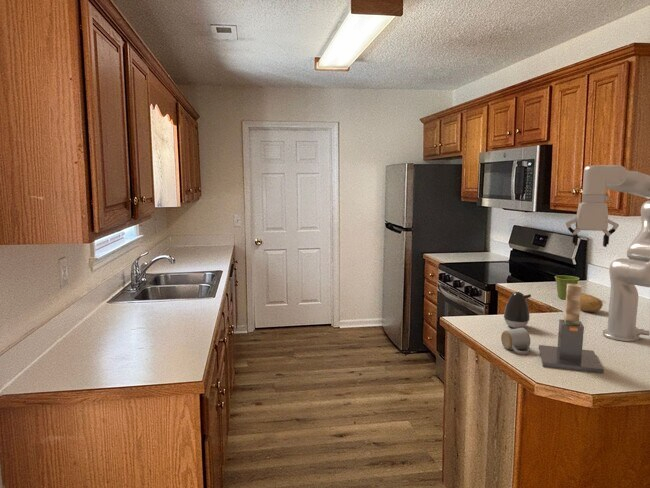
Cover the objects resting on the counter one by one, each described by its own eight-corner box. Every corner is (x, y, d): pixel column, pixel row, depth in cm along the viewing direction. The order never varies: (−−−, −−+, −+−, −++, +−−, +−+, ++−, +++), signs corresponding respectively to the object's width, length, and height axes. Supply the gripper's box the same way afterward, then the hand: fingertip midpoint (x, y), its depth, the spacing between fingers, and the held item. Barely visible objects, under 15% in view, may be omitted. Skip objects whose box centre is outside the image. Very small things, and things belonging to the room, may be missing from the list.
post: (576, 336, 168) (579, 284, 166) (577, 340, 165) (581, 286, 162) (563, 335, 170) (566, 283, 167) (564, 338, 166) (568, 285, 163)
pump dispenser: (531, 331, 200) (533, 295, 198) (505, 329, 202) (507, 294, 200) (526, 323, 210) (528, 289, 208) (501, 322, 212) (503, 288, 210)
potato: (591, 316, 222) (592, 299, 221) (568, 308, 235) (569, 292, 234) (608, 314, 224) (609, 297, 223) (585, 306, 238) (586, 291, 237)
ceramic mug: (499, 345, 183) (500, 326, 182) (518, 344, 184) (519, 325, 183) (515, 356, 173) (516, 336, 171) (535, 354, 174) (537, 334, 173)
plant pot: (578, 297, 256) (580, 276, 255) (576, 302, 246) (578, 280, 245) (554, 294, 262) (556, 274, 261) (551, 299, 253) (552, 278, 251)
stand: (592, 354, 174) (595, 318, 172) (602, 373, 157) (606, 333, 155) (538, 348, 180) (540, 313, 178) (542, 366, 163) (545, 327, 161)
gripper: (618, 199, 177) (614, 245, 179) (566, 198, 182) (562, 243, 185) (623, 200, 170) (619, 248, 172) (568, 199, 175) (565, 246, 178)
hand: (589, 245), depth 178 cm, fingers open, 9 cm apart
